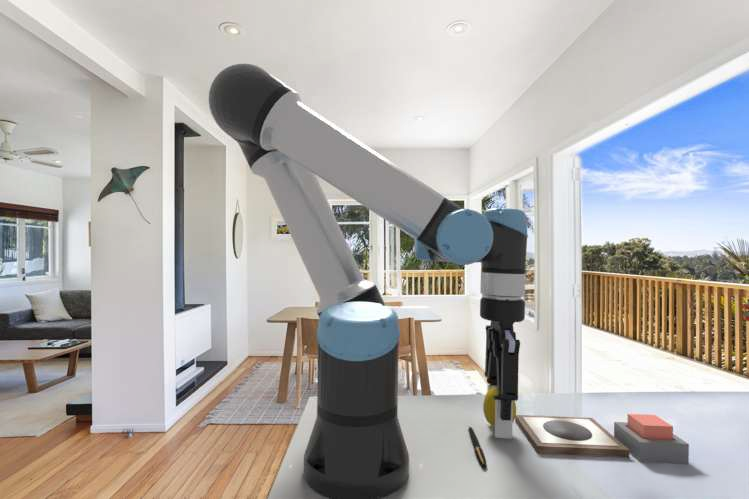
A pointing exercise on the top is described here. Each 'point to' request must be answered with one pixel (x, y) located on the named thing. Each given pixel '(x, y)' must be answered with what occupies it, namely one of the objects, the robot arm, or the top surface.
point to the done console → (652, 446)
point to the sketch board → (569, 436)
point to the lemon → (493, 406)
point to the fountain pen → (477, 448)
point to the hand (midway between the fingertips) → (498, 428)
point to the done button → (650, 427)
